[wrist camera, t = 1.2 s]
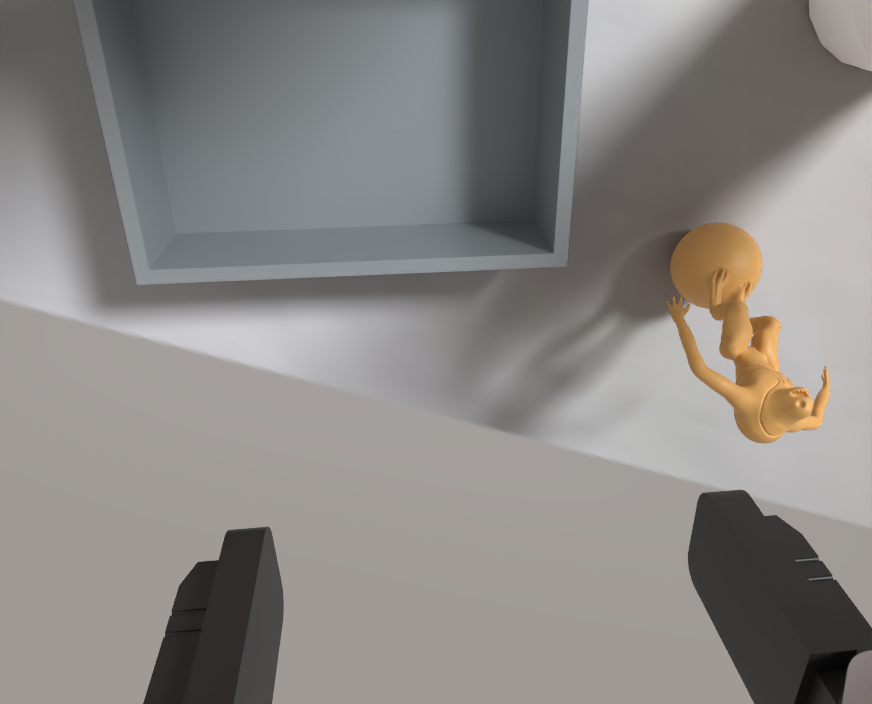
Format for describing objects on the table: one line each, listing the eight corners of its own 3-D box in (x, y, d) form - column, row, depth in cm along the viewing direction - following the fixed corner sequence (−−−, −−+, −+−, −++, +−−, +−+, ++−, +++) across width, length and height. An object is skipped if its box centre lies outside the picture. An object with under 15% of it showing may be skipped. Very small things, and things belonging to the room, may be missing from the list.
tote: (100, -100, 26) (46, -115, 22) (560, -103, 27) (598, -117, 23) (168, 242, 32) (136, 285, 28) (541, 228, 34) (567, 266, 29)
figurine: (787, 250, 35) (967, 369, 25) (714, 349, 38) (849, 495, 27) (652, 178, 33) (787, 274, 22) (583, 287, 35) (676, 422, 25)
